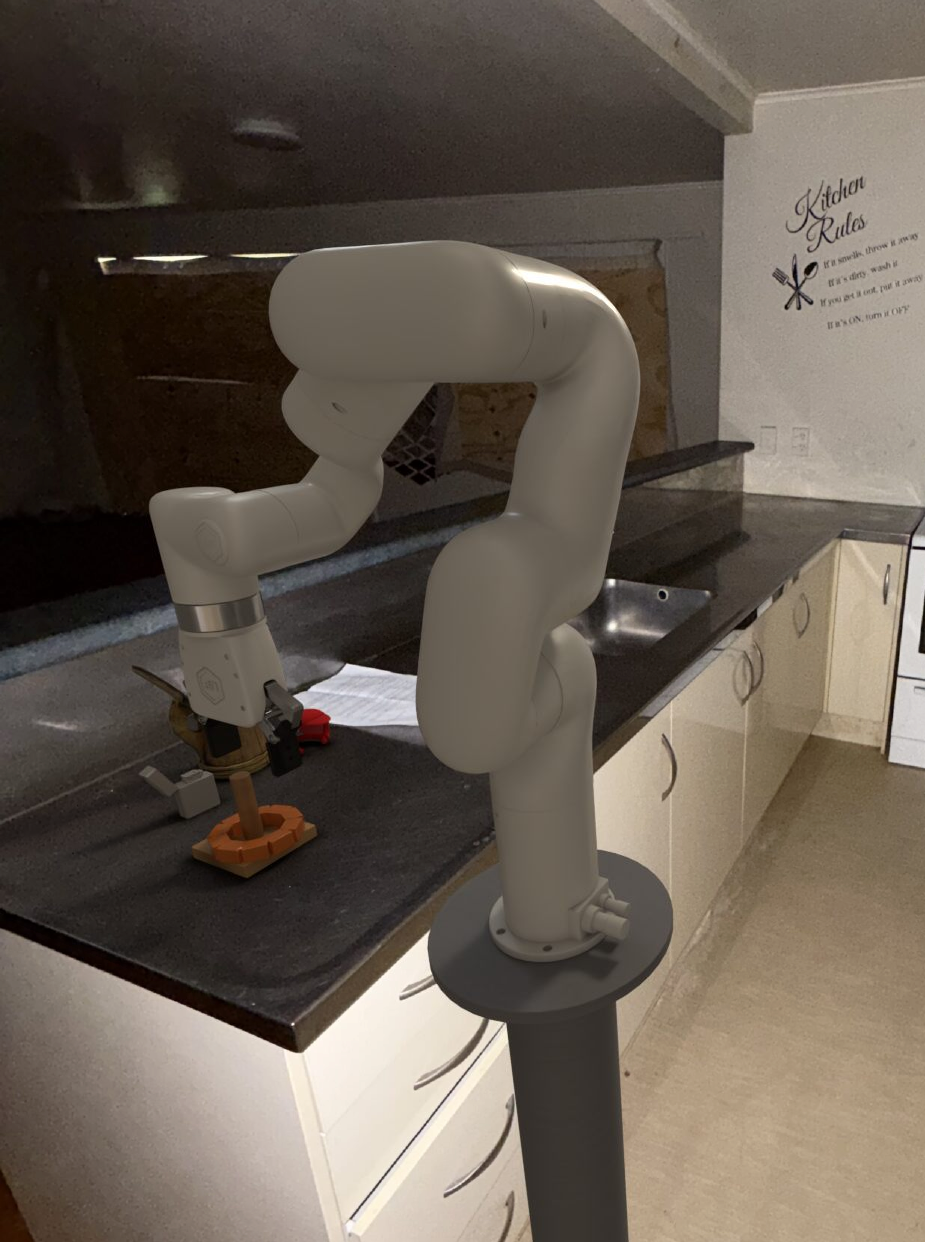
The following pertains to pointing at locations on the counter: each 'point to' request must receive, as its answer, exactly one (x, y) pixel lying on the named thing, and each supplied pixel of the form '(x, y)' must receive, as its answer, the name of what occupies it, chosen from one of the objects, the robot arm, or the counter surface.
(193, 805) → the lighter
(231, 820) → the ring
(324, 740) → the red helmet
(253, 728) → the wooden mug
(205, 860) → the stand
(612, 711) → the counter surface
